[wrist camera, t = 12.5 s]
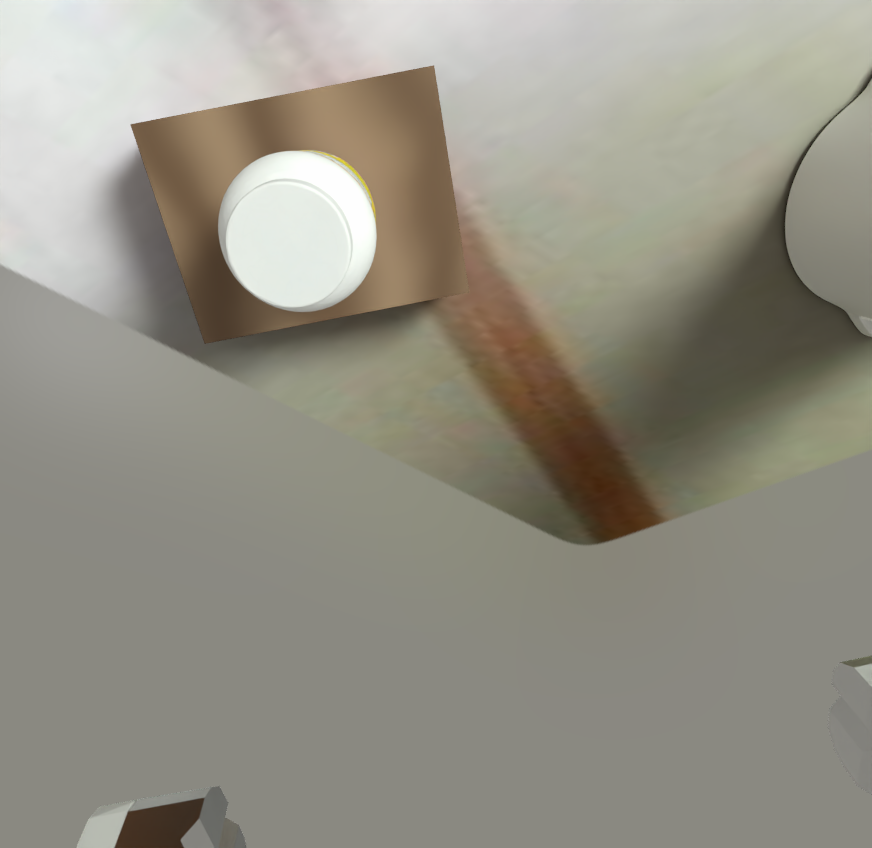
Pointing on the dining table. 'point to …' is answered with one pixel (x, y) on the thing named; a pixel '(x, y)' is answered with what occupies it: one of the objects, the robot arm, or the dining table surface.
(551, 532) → the dining table surface
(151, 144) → the walnut stand
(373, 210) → the supplement bottle
